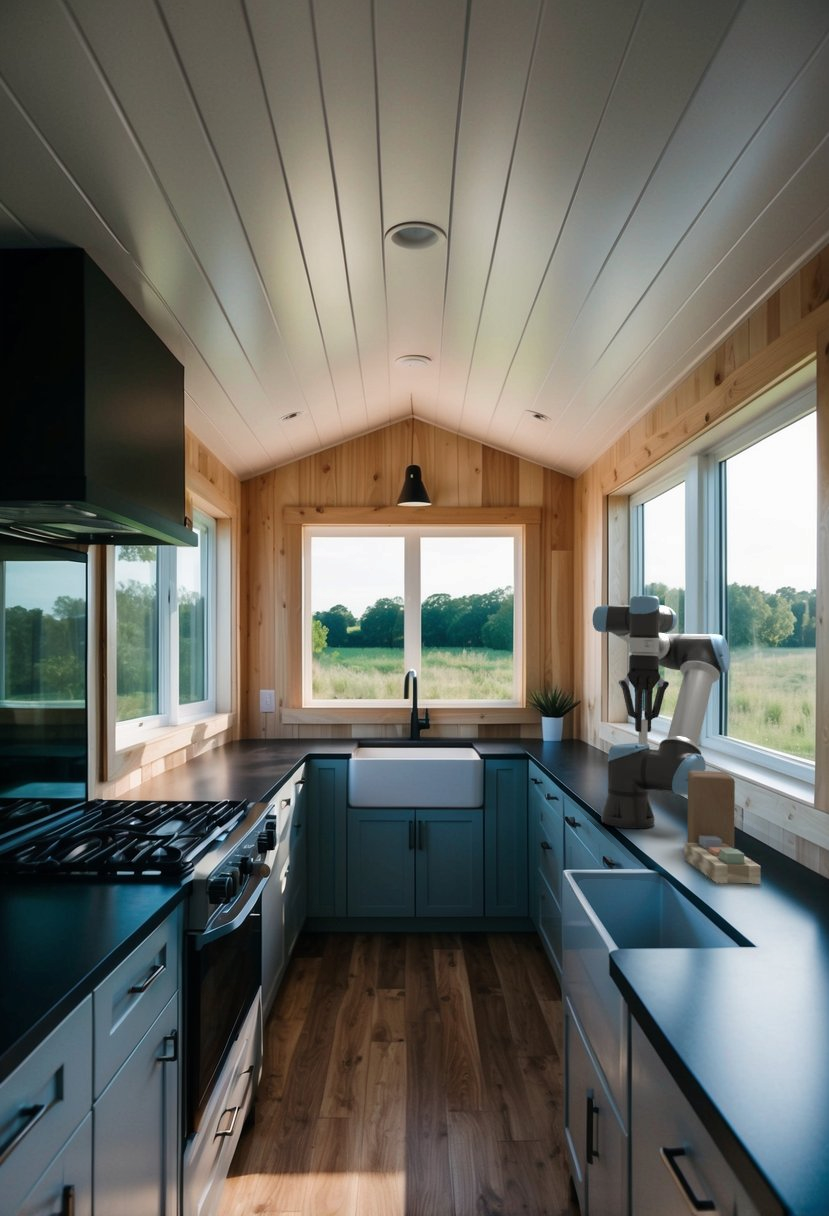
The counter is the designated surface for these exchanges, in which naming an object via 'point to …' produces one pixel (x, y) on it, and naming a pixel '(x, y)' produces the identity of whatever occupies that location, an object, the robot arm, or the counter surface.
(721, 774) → the block
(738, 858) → the green button
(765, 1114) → the counter surface
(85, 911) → the counter surface
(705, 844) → the grey small cube
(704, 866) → the wooden slotted tray
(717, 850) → the terracotta button
